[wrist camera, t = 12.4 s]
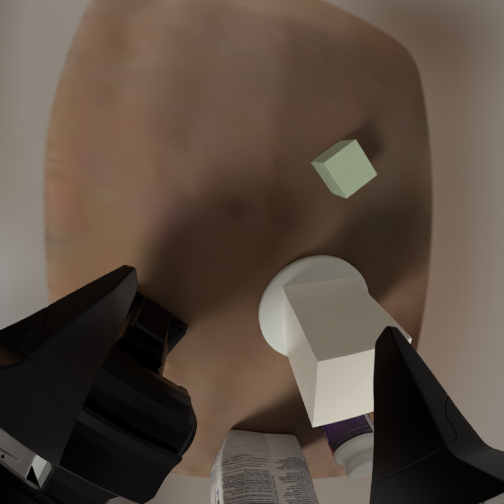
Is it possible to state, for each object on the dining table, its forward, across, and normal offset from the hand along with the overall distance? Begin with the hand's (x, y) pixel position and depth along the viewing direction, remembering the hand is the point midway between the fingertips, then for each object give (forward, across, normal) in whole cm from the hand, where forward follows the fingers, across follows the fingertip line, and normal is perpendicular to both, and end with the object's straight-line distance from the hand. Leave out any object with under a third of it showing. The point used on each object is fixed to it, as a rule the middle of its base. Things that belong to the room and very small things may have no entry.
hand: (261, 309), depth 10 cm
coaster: (+12, -5, +10) cm, 17 cm away
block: (+16, -4, -1) cm, 16 cm away
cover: (+11, -6, +10) cm, 16 cm away
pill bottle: (+10, -13, +24) cm, 29 cm away
